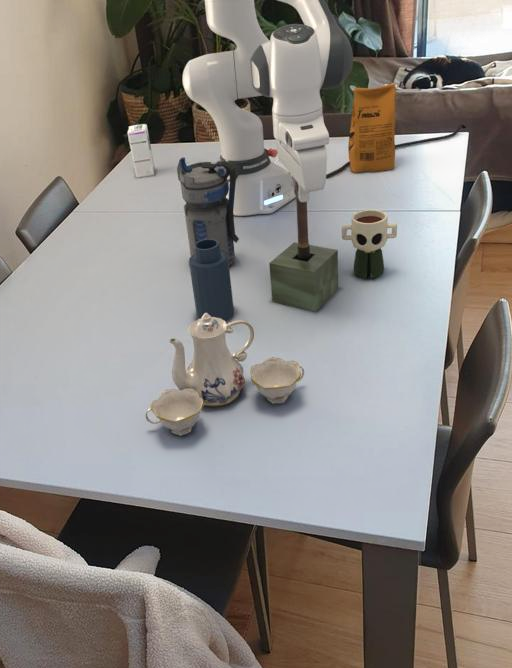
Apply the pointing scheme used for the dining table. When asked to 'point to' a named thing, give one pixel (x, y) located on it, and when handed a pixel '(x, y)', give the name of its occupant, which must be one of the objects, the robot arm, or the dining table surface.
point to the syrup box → (141, 150)
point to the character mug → (369, 240)
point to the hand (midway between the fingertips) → (301, 197)
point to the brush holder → (304, 277)
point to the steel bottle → (211, 280)
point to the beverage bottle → (209, 203)
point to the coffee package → (372, 129)
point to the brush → (302, 228)
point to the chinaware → (217, 376)
